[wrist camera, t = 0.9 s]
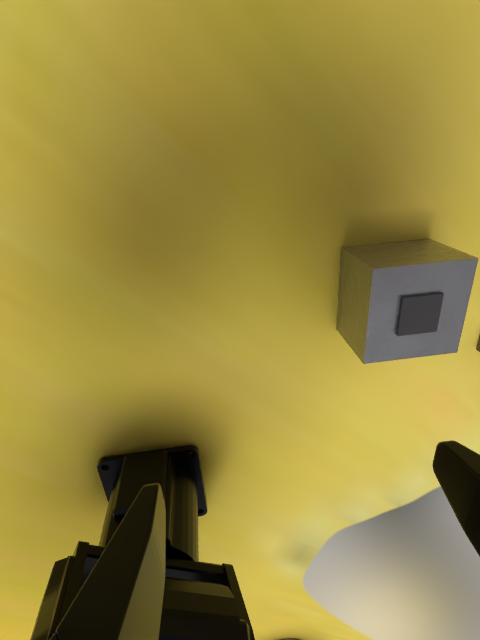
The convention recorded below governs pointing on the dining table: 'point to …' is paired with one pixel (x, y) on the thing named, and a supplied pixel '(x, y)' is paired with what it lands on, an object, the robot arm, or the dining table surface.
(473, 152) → the dining table surface
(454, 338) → the socket
